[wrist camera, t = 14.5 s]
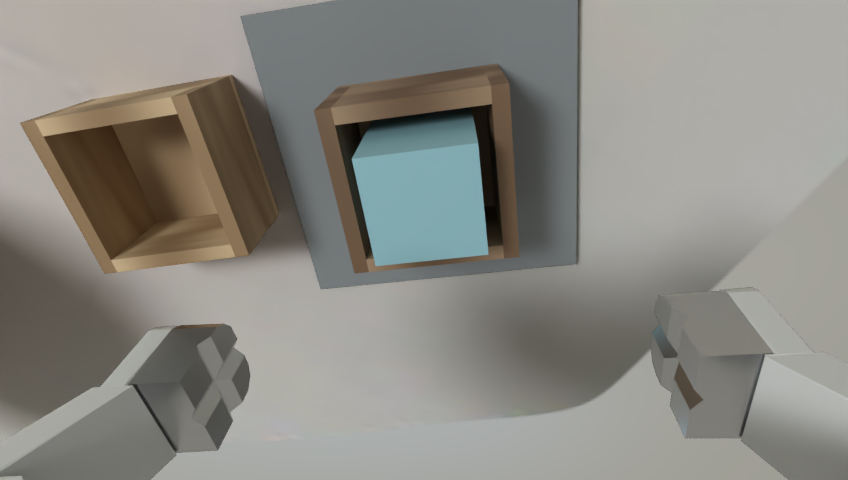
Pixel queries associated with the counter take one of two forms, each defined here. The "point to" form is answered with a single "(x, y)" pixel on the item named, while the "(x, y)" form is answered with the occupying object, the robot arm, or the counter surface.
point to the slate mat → (415, 55)
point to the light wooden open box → (159, 174)
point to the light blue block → (422, 187)
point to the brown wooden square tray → (461, 88)
